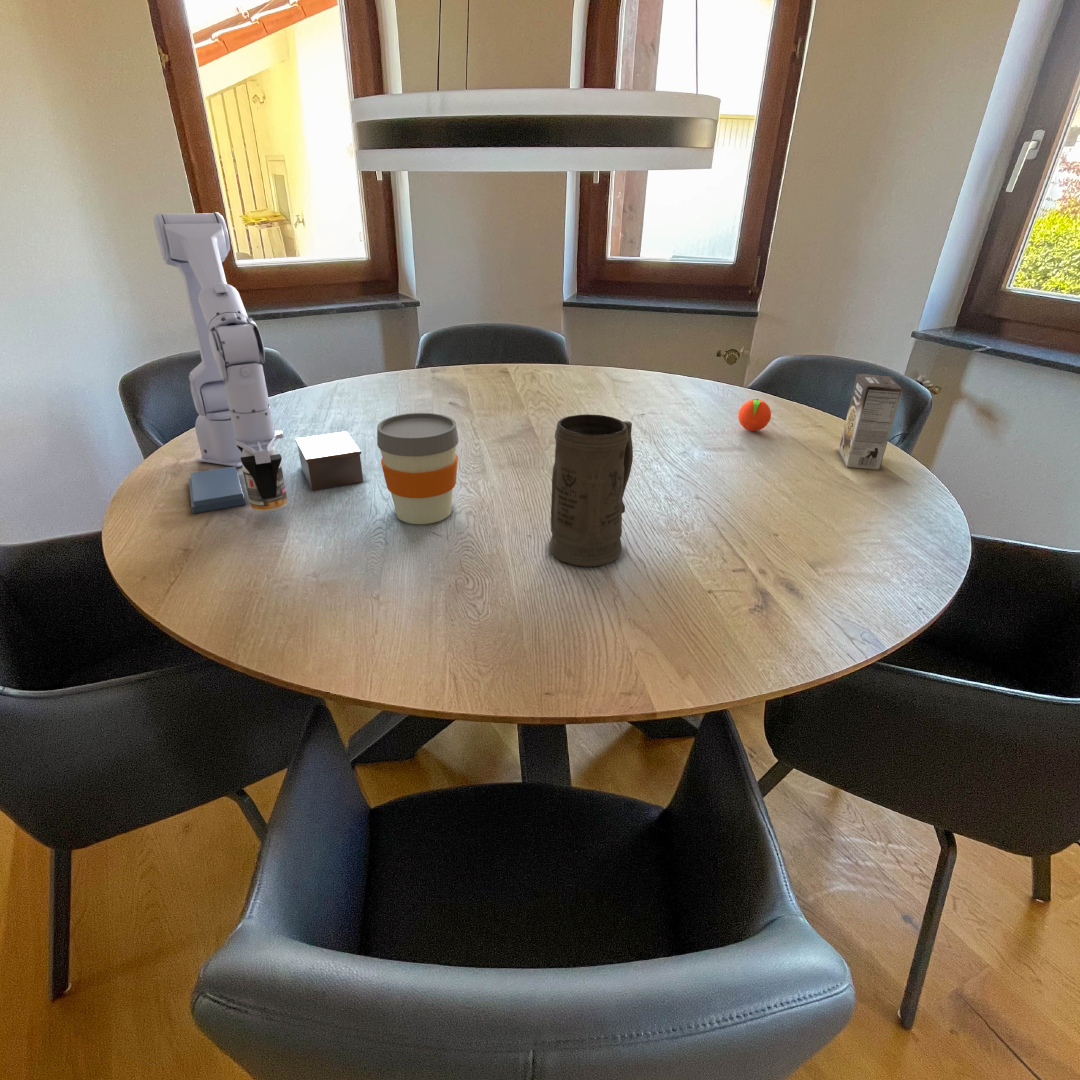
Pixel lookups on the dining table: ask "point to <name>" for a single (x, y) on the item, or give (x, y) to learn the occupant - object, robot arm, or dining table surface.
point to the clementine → (754, 415)
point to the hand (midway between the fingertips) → (266, 490)
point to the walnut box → (330, 460)
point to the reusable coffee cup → (419, 464)
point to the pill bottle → (254, 496)
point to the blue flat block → (215, 489)
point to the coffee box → (869, 420)
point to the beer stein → (589, 488)
